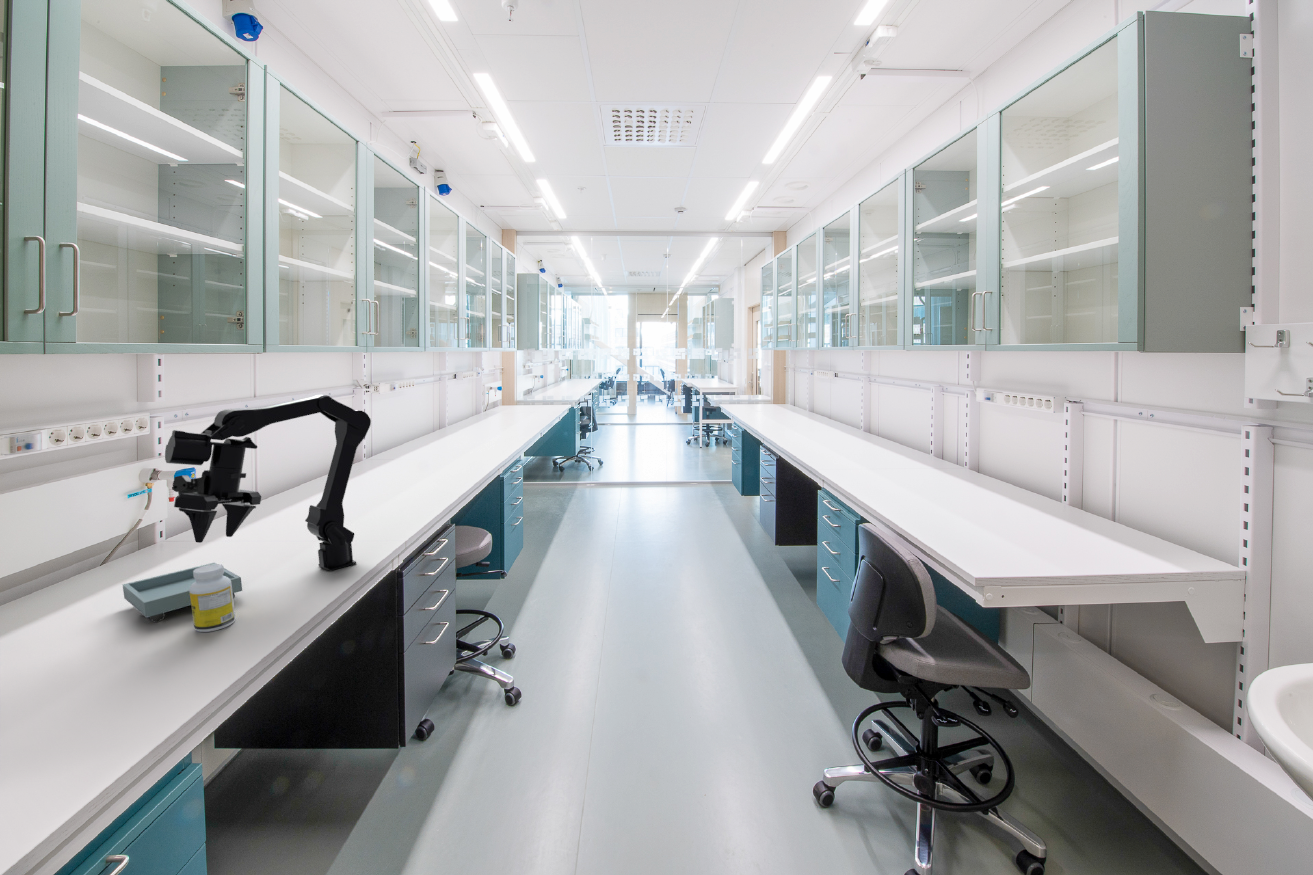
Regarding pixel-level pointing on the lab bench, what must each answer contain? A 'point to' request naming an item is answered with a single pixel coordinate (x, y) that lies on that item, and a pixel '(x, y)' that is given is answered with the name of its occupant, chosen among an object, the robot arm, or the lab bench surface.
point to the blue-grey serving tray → (167, 592)
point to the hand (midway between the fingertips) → (214, 539)
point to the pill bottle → (211, 599)
